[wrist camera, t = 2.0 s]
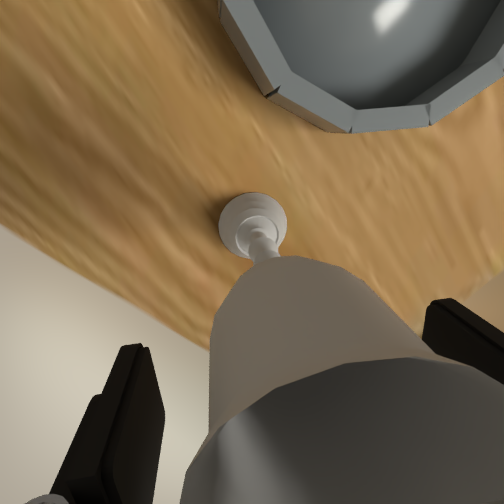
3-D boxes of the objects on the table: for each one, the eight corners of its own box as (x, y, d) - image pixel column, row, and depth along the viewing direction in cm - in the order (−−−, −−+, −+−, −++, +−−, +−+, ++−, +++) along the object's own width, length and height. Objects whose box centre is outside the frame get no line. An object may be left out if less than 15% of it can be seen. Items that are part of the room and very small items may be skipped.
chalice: (184, 230, 22) (96, 544, 5) (246, 156, 21) (384, 270, 4) (259, 286, 24) (357, 620, 8) (319, 222, 23) (594, 466, 6)
